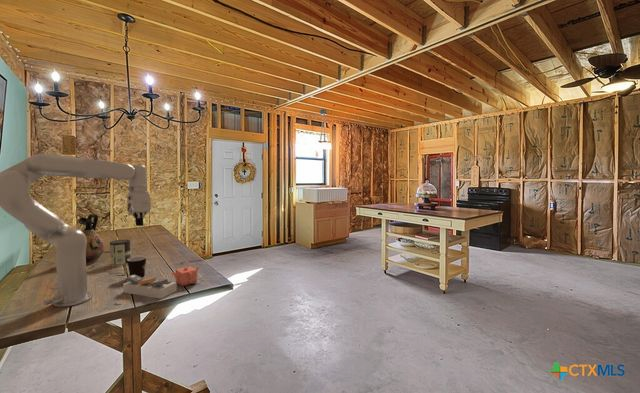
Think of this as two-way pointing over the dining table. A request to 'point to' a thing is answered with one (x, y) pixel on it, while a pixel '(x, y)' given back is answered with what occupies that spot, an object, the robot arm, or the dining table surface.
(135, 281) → the rocker
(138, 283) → the rocker
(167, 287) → the power strip
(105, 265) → the dining table surface
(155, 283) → the rocker
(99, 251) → the ceramic jug
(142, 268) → the coffee mug
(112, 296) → the dining table surface
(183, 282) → the teapot
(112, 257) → the coffee can
